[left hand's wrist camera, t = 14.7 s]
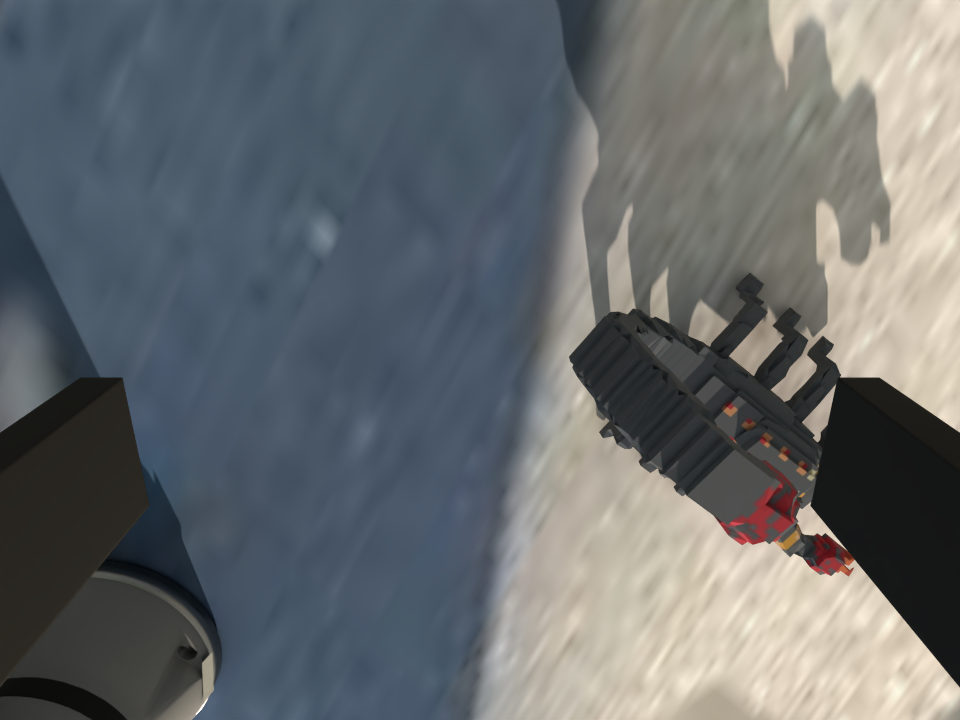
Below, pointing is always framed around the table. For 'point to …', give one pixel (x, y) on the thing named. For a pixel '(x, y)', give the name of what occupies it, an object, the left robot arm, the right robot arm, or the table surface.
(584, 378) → the toy
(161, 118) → the table surface
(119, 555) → the table surface
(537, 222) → the table surface
